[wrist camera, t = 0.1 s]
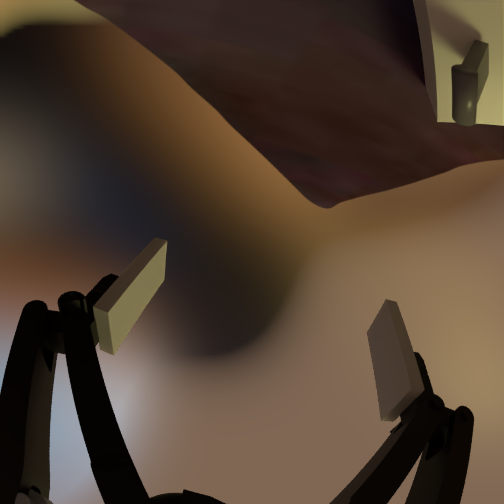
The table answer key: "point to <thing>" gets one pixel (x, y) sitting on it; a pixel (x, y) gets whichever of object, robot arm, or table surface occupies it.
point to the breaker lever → (469, 83)
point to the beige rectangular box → (461, 51)
